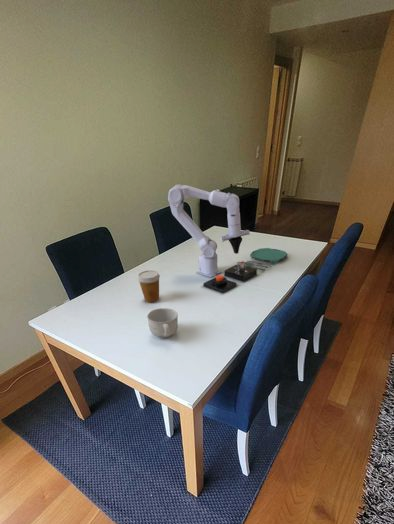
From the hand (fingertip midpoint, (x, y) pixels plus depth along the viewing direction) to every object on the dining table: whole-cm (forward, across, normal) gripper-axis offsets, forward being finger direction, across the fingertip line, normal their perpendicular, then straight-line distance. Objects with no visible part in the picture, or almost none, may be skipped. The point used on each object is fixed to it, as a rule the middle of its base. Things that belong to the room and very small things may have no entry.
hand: (236, 253), depth 143 cm
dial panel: (+11, 0, +3) cm, 11 cm away
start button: (+7, +14, +10) cm, 18 cm away
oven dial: (+8, 0, +3) cm, 8 cm away
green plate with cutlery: (+12, -21, -9) cm, 26 cm away
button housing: (+10, +14, +10) cm, 20 cm away
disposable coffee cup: (+7, +47, +8) cm, 48 cm away
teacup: (+8, +50, +38) cm, 63 cm away
